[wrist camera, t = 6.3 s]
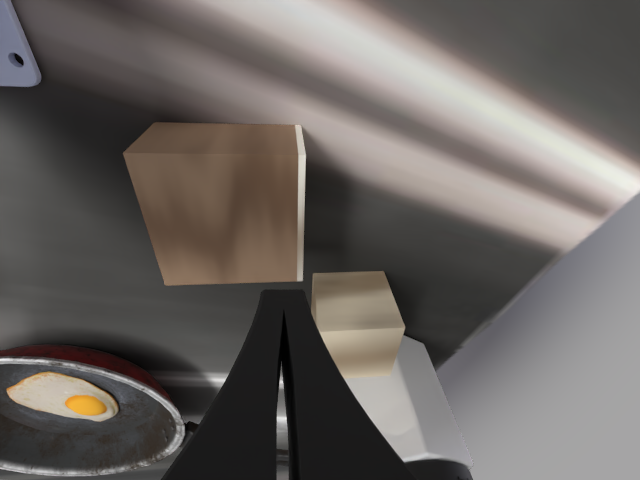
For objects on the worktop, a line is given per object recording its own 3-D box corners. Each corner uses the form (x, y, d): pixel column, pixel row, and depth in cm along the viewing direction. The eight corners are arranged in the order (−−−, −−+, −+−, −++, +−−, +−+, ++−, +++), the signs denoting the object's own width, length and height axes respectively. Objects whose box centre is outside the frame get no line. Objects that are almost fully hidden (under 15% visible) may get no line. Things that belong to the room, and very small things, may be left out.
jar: (406, 384, 32) (459, 546, 23) (325, 387, 31) (345, 560, 22) (433, 325, 27) (517, 504, 17) (337, 326, 26) (371, 519, 16)
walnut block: (300, 124, 16) (155, 121, 16) (305, 154, 13) (122, 152, 12) (299, 237, 20) (184, 239, 20) (302, 281, 17) (165, 285, 16)
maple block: (312, 272, 22) (320, 331, 18) (383, 270, 23) (405, 327, 19) (310, 320, 25) (316, 380, 21) (373, 317, 26) (390, 375, 22)
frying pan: (-76, 288, 20) (-139, 338, 17) (354, 383, 31) (362, 424, 28) (-55, 426, 29) (-94, 475, 26) (273, 461, 40) (273, 498, 37)
